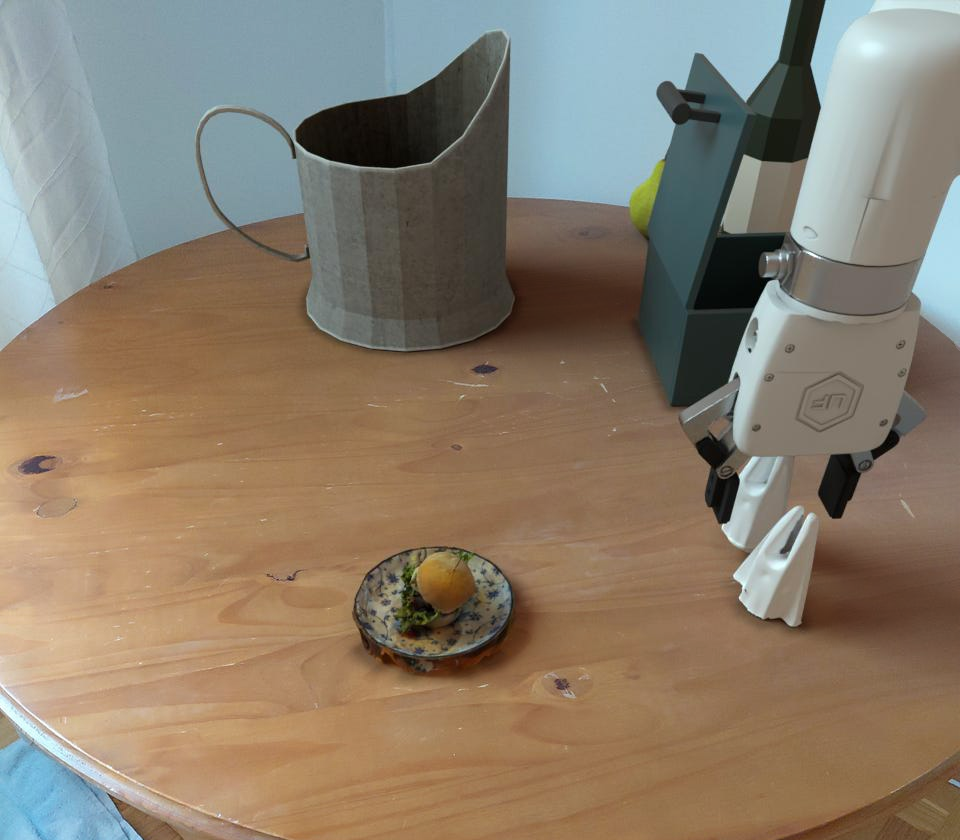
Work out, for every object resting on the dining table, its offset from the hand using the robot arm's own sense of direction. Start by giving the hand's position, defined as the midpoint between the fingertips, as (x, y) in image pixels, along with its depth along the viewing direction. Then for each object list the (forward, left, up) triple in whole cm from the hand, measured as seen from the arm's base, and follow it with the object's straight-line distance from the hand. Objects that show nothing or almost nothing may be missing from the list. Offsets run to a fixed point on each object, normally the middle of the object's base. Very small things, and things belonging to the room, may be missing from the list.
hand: (773, 508), depth 65 cm
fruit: (-5, -62, -6) cm, 63 cm away
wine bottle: (-15, -54, -6) cm, 56 cm away
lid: (0, -32, +11) cm, 34 cm away
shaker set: (0, 0, -6) cm, 6 cm away
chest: (-6, -32, -6) cm, 33 cm away
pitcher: (+30, -47, -6) cm, 56 cm away
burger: (+25, +3, -6) cm, 26 cm away
